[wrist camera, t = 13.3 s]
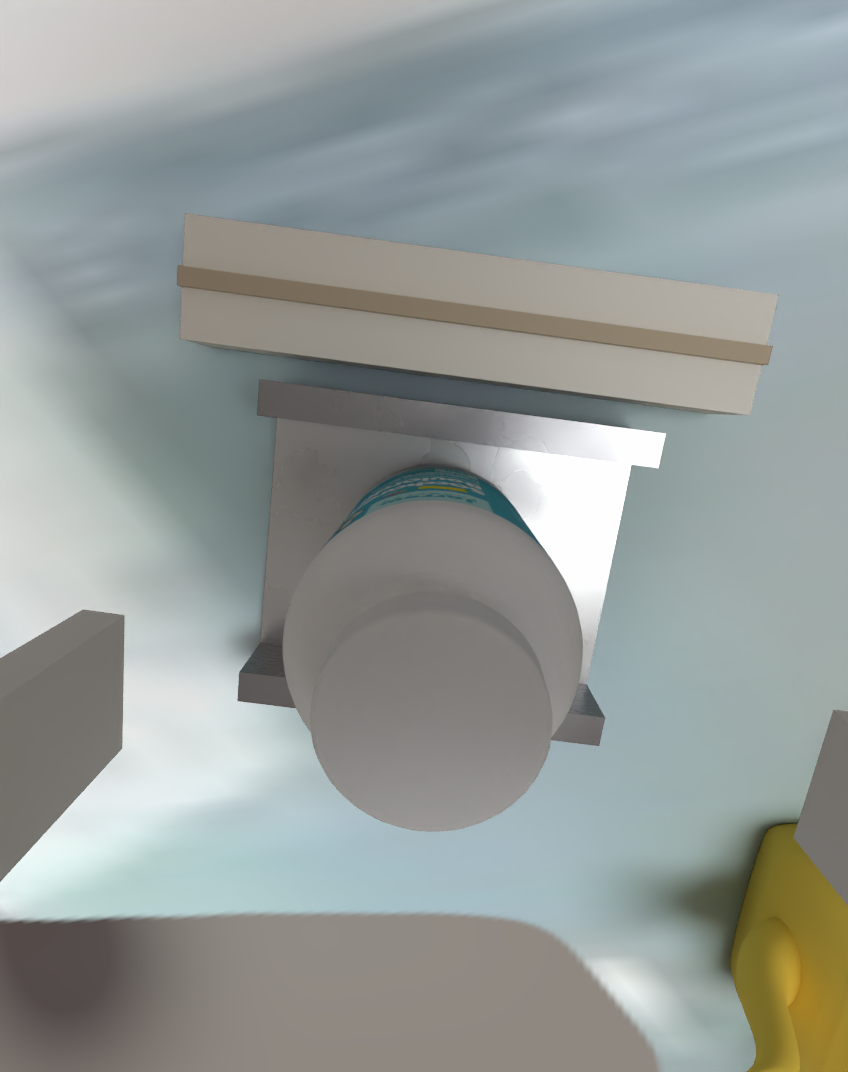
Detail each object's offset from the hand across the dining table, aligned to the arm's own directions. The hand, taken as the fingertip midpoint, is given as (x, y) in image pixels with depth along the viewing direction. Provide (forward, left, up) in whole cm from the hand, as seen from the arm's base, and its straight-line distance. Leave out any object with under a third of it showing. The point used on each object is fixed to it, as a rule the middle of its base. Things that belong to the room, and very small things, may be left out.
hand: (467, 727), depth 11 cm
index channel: (0, 0, -15) cm, 15 cm away
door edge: (-9, 0, -15) cm, 17 cm away
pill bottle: (0, -1, -14) cm, 14 cm away
